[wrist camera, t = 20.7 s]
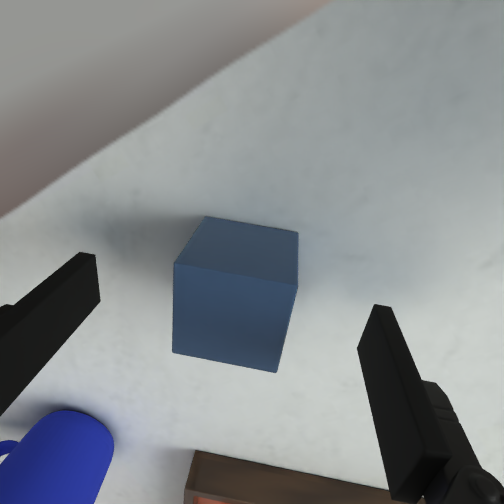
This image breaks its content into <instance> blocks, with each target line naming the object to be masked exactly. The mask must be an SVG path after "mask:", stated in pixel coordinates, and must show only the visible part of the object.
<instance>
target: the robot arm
mask: <svg viewBox="0 0 504 504" xmlns="http://www.w3.org/2000/svg"><path fill="white" fill-rule="evenodd" d="M99 303H100V292H99V283H98V274H97V266H96V257H95V255H94V254H89V253H83V252H79V253H78V254H76V255H75V256H74V257H73V258H71V259H70V260H69V261H68V262H66V263H65V264H64V265H63V266H61V267H60V268H59V269H58V270H57V271H55V272H54V273H53V274H52V275H50V276H49V277H48V278H47V279H45V280H44V281H43V282H42V283H40V284H39V285H38V286H37V287H35V288H34V289H33V290H32V291H31V292H29V293H28V294H27V295H26V296H24V297H23V298H22V299H21V300H19V301H18V302H17V303H16V304H14V305H9V304H6V305H3V306H1V307H0V416H1V415H2V414H3V413H4V412H5V411H6V409H7V408H8V407H9V406H10V405H11V404H12V402H13V401H14V400H15V399H16V398H17V397H18V396H19V394H20V393H21V392H22V391H23V390H24V389H25V388H26V386H27V385H28V384H29V383H30V382H31V381H32V380H33V378H34V377H35V376H36V375H37V374H38V373H39V371H40V370H41V369H42V368H43V367H44V366H45V365H46V363H47V362H48V361H49V360H50V359H51V358H52V357H53V355H54V354H55V353H56V352H57V351H58V350H59V349H60V347H61V346H62V345H63V344H64V343H65V342H66V340H67V339H68V338H69V337H70V336H71V335H72V334H73V332H74V331H75V330H76V329H77V328H78V327H79V326H80V324H81V323H82V322H83V321H84V320H85V319H86V318H87V316H88V315H89V314H90V313H91V312H92V311H93V309H94V308H95V307H96V306H97V305H98V304H99ZM357 351H358V355H359V359H360V364H361V368H362V372H363V377H364V381H365V386H366V390H367V394H368V399H369V403H370V407H371V412H372V416H373V421H374V425H375V429H376V434H377V438H378V442H379V447H380V451H381V455H382V460H383V464H384V469H385V473H386V477H387V482H388V486H389V490H390V495H391V499H392V500H394V501H399V502H404V503H409V504H417V503H418V501H419V500H420V499H421V497H422V496H424V499H425V502H426V504H504V487H503V486H502V485H501V483H500V482H499V481H498V480H497V479H496V478H495V477H494V476H493V475H491V474H490V473H489V472H487V471H485V470H484V469H482V467H481V466H480V464H479V462H478V459H477V457H476V455H475V453H474V451H473V449H472V447H471V445H470V443H469V441H468V439H467V436H466V434H465V432H464V430H463V428H462V426H461V424H460V423H459V420H458V418H457V415H456V413H455V412H454V411H453V407H452V405H451V403H450V401H449V399H448V397H447V395H446V394H445V393H444V392H443V390H442V389H441V388H440V387H439V386H438V385H437V384H436V383H434V382H429V381H424V380H421V377H420V375H419V372H418V370H417V368H416V365H415V363H414V360H413V358H412V356H411V353H410V351H409V349H408V346H407V344H406V341H405V339H404V337H403V334H402V332H401V329H400V327H399V325H398V322H397V320H396V318H395V315H394V313H393V310H392V308H391V307H388V306H382V305H377V304H374V306H373V309H372V311H371V314H370V316H369V319H368V321H367V324H366V326H365V329H364V331H363V334H362V337H361V339H360V342H359V344H358V347H357Z"/></svg>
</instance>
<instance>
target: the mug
mask: <svg viewBox="0 0 504 504" xmlns="http://www.w3.org/2000/svg"><path fill="white" fill-rule="evenodd" d="M113 452H114V441H113V438H112V436H111V434H110V432H109V431H108V430H107V428H106V427H105V426H104V425H103V424H101V423H100V422H99V421H97V420H96V419H94V418H92V417H90V416H88V415H86V414H83V413H79V412H76V411H68V410H63V411H56V412H53V413H50V414H48V415H46V416H45V417H43V418H42V419H41V420H39V421H38V422H37V423H36V424H35V425H34V426H33V427H32V428H31V429H30V431H29V432H28V433H27V434H26V435H25V436H24V438H23V439H22V440H21V441H20V442H17V441H13V440H6V441H1V442H0V456H2V455H5V454H8V453H10V454H9V455H8V456H7V457H6V458H5V459H4V461H3V462H2V463H1V464H0V504H94V502H95V500H96V497H97V495H98V492H99V490H100V487H101V485H102V483H103V480H104V478H105V475H106V473H107V470H108V468H109V465H110V463H111V460H112V457H113Z"/></svg>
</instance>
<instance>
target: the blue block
mask: <svg viewBox="0 0 504 504" xmlns="http://www.w3.org/2000/svg"><path fill="white" fill-rule="evenodd" d="M297 288H298V232H293V231H287V230H282V229H276V228H270V227H264V226H259V225H253V224H247V223H242V222H236V221H230V220H224V219H219V218H213V217H207V216H205V217H204V219H203V220H202V222H201V223H200V225H199V226H198V228H197V229H196V231H195V232H194V234H193V235H192V237H191V238H190V240H189V241H188V243H187V244H186V246H185V247H184V249H183V250H182V252H181V253H180V255H179V256H178V258H177V259H176V261H175V262H174V273H173V332H172V352H173V353H176V354H182V355H187V356H192V357H197V358H202V359H207V360H212V361H217V362H222V363H227V364H232V365H237V366H243V367H248V368H253V369H258V370H263V371H268V372H273V373H276V372H277V370H278V366H279V362H280V358H281V354H282V350H283V346H284V342H285V337H286V333H287V329H288V325H289V321H290V317H291V313H292V309H293V305H294V301H295V297H296V293H297Z"/></svg>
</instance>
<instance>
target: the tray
mask: <svg viewBox="0 0 504 504" xmlns="http://www.w3.org/2000/svg"><path fill="white" fill-rule="evenodd" d="M184 504H409V503H404V502H399V501H394V500H392V499H391V495H390V491H386V490H381V489H377V488H372V487H367V486H362V485H358V484H353V483H348V482H343V481H339V480H334V479H329V478H325V477H320V476H315V475H310V474H306V473H301V472H296V471H291V470H287V469H282V468H277V467H272V466H268V465H263V464H258V463H253V462H249V461H244V460H239V459H234V458H230V457H225V456H220V455H216V454H211V453H206V452H202V451H197V450H195V453H194V457H193V460H192V464H191V467H190V471H189V475H188V478H187V482H186V485H185V491H184ZM417 504H426V502H425V499H424V498H421V499H420V500H419V501H418V503H417Z"/></svg>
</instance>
